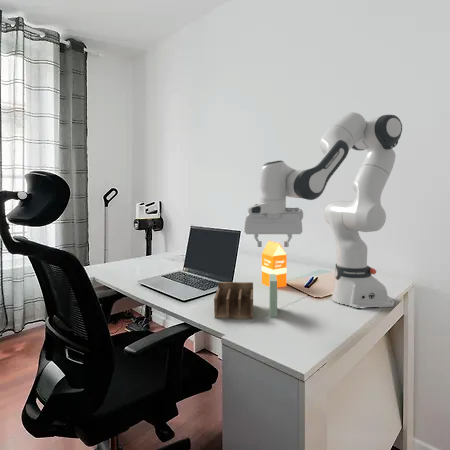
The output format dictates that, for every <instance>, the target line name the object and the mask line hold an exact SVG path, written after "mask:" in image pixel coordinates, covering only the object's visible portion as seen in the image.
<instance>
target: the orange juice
mask: <svg viewBox="0 0 450 450" xmlns="http://www.w3.org/2000/svg"><path fill="white" fill-rule="evenodd" d="M287 256H288V255H287V253H286V252H285V250H284V248H283V246H282V245H281V243H280V242H276V241H271V240H268V242H267V243H266V245H265V247H264V249H263V251H262V252H261V284H262V285H265V286H267V287H269V274H276V278H277V289H278V288H283V287H287V274H288V273H287V272H288V271H287V269H288V268H287V261H288V259H287Z"/></svg>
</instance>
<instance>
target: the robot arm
mask: <svg viewBox="0 0 450 450" xmlns="http://www.w3.org/2000/svg"><path fill="white" fill-rule="evenodd" d="M402 131H403V123H402V121H401V119H400V118H399V117H398V116H397V115H394V114H383V115H381V116H377V117H373V118H369V119H367V120H366V119H365V118H364V116H363V115H361V113H358V112H354V111H353V112H349V113H347V114H345V115H342V117H340V118H339V119H337V120H336V121H335V122H334V123H333V124H332V125H331V126H330V127H329V128H328V129H327V130H326V131H325V132H324V133H323V135H321V137H320V139H319V146H320V147H319V148H320V150H321V152H322V153H323V156H322V158H321V159H320V160H319V161H318V163H317V164H316V165H314V166H312V167H310V168H307V169H302V170H301V169H300V170H297V169H295V168H293V167H291V166H289V165H287V164H286V162H284V160H275V161H269V162H265V163H264V164H263V165H262V166H261V171H260V190H261V191H260V192H261V195H260V197H259V198H260V200H259V201H260V202H259V203H255V204H253V205H251V206H249V207H248V208H247V213H248V214H247V215H246V217H245V221H244V229H243V230H244V233H245V234H246V235H253V236H254V239H255V241H256V242H257V247H259V248H262V246H263V244H262V241H260V240H259V235H287V239H286V241H285V240H284V241H283V247H285V248H289V244H290V241H291V240H292V239H293V235H301V234H302V233H303V222H302V221H303V219H304V212H303V209H301V208H300V207H287V200H286V199H287V198H294V199H303V200H307V201H314V200H316V199H318V198H319V197H321V196H322V194H323V193H324V191H325V189H326V186H327V185H328V182H329V180H330V179H331V178H332V176H333V175H334V174H335V173H336V171H337V170H338V168H340V166H341V165H342V164H343V162H344V161H345V159H346V158H347V156H348V154H349V152H350V150H351V149H352V150H355V151H365V150H366V155H365V159H364V160H363V161H362V163H361V166H360V167H359V170H358V172H357V173H356V175H355V178H354V179H353V182H352V187H353V190H354V191H355V193H356V196H355V198H354V200H353V201H352V200H351V201H350V200H339V201H338V200H337V201H334V202H333V201H332V202H331V203H329V204H328V205H327V206H326V207H325V208H324V209H325V210H324V213H323V215H324V220H325V221H326V223H327V224H328V225H329V226H330V228H331V231H332V232H333V237H334V239H335V243H336V245H335V246H336V263H335V267H334V278H335V282H334V287H333V288H334V289H333V290H332V291H333V293H332V295H331V300H332V301H334V302H335V303H336V304H339V303H340V304H339V305H343V304H345V305H344V306H347V305H349V306H348V307H350V306H353V307H356V308H360V307H379V308H391V307H392V308H393V307H394V306H395V301H394V300H393V298H391V297H390V296H389V295H388V290H387V288H386V286H385V285H384V283H382V282H381V281H380V280H378V279H377V278H376V277H374V275H376V273H377V270H376V269H375V268H373V267H371V266H369V265H368V245H367V244H366V242H365V241H363V239H362V238H361V235H360V234H359V232H361V233H372V232H378V231H380V230H382V228H383V227H384V226H385V224H386V220H387V214H386V211H385V209H384V207H383V206H382V202H381V198H382V194H383V191H384V188H385V187H386V184H387V182H388V180H389V178H390V176H391V174H392V171H393V169H394V165H395V161H396V152H395V150H394V149H393V148H395V147H396V146H397V145H398V144H399V140H400V138H401V135H402ZM353 307H352V308H353ZM356 308H355V309H356Z"/></svg>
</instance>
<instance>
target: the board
mask: <svg viewBox="0 0 450 450" xmlns="http://www.w3.org/2000/svg"><path fill="white" fill-rule="evenodd" d="M268 290H269V291H268V293H269V294H268V295H269V296H268V299H269V300H268V302H269V306H268V307H269V317H270V318H278V288H277V278H276V274H269V286H268Z"/></svg>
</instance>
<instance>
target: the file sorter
mask: <svg viewBox="0 0 450 450" xmlns="http://www.w3.org/2000/svg"><path fill="white" fill-rule="evenodd" d="M213 302H214V303H213V306H214V308H213V309H214V310H213V311H214V314H213V315H214V319H236V320H237V319H241V320H243V319H246V320H253V319H254V282H253V281H252V282H250V281H249V282H247V281H246V282H240V281H239V282H238V281H237V282H236V281H235V282H234V281H218V282H217V290H216V292H215V295H214V298H213Z"/></svg>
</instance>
